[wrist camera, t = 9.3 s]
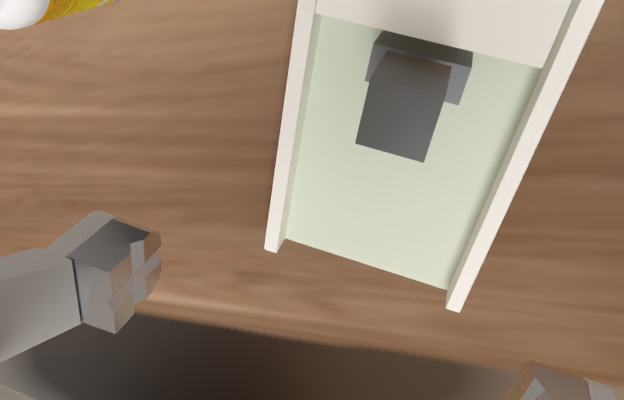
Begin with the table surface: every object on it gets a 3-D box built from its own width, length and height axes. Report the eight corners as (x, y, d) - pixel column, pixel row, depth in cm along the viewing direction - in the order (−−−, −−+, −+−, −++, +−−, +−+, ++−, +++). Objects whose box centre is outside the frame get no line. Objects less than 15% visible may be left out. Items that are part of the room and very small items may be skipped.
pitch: (638, -109, 24) (692, -109, 17) (461, 285, 38) (455, 364, 32) (337, -165, 26) (288, -182, 20) (277, 227, 41) (238, 290, 34)
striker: (477, 36, 28) (471, 102, 19) (459, 87, 30) (447, 169, 21) (389, 15, 29) (346, 70, 20) (377, 66, 30) (332, 136, 22)
